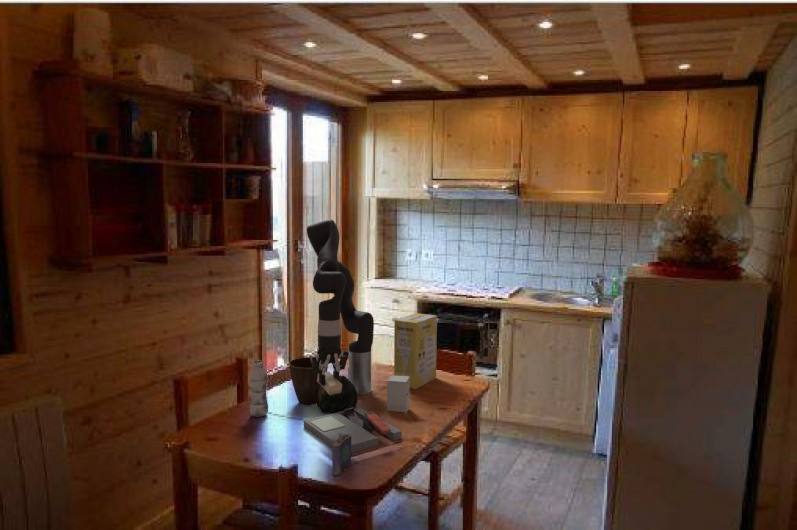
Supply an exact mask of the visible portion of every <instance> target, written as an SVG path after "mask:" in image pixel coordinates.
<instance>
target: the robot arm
mask: <svg viewBox="0 0 797 530" xmlns="http://www.w3.org/2000/svg"><path fill="white" fill-rule="evenodd" d="M306 235H307V238H308V241H309V243H310V245H311V247H312V249H313V251H314V253H315V255H316V257H317V258H316V265H317V267H316V268H317V269H316V271H315V273H314V276H313V279H312V287H313V290H314V291H315V292H316V293H317V294H321V295H323V294H326V295H327V294H333V296H332V298H330V299H325V300H321V301H320V302H319V303H318V322H317V349H318V350H317V352H316V354H314V355H312V354H311V355H309V356H308V357H309V358H310V362H311V365H312V368H313V371H314V372H315V373H317V374H319V383H320V384H321V385H322V386H325V371H326V368H327V367H328V368H329V364H331V365H332V369H333V372H332V375H333V376H334V377H335V378H336V379H337V380H338V381H339V376H340V372H341V371H342V370H345V368H346V365H347V362H348V368H347V379H348V380H349V381H350V382H352V384H353V385H354V386H355V388H356V391H357V396H360V395H361V396H363V395H368V394H370V393H372V346H373V343H374V328H375V321H374V320H375V319H374V317H373V315H372V313H370V312H367V311H363V310H362V311H361V310H357V309H356V307H355V304H354V303H353V295H354V290H355V282H354V279H353V276H352V274H351V271H350V269H349V267H348V266H346V265H345V264H343V262H340V261H339V260H338V253H339V246H340V231H339V229H338V225H337V224H336V222H335V220H333V219H330V218H329V219H324V220H321V221H318V222H315V223H313V224H310V225H308V226H307V227H306ZM341 319H342V322H343V325H344V328H345V330H347V332H349V333H352V334H356V335H357V340H354V341H351V342H350V343H349V344H348V351H346V350H342V348H341V346H342V324H341ZM318 358H320V363H319V366H320V367H319V366H318V363H317V361H318ZM339 358H340V359H339Z"/></svg>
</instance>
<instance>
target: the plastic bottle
mask: <svg viewBox="0 0 797 530" xmlns="http://www.w3.org/2000/svg"><path fill="white" fill-rule="evenodd" d="M264 367H265V366H264V360H261V359H260V360H253V362H252V370H251V371H250V373H249V375H248V376H249V377H248V380H249V385H250V391H251V392H250V405H249V412H250V415H251V416H252V417H254V416H255V418H260V417H265V416H266V415H267V414H268V413H269V403H268V397H267V383H268V373H267V371H266V370H265V369H264Z"/></svg>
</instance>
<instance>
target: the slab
mask: <svg viewBox="0 0 797 530" xmlns="http://www.w3.org/2000/svg"><path fill="white" fill-rule="evenodd" d="M317 382H318V383H319V374H318V377H317ZM319 384H320V383H319ZM320 385H321V384H320ZM321 386H322V385H321ZM322 387H323V388H324V389H325V390H326V392H327V393H328V394H329V395H332V394H337V393H341V390H342V384H341V383H340V382H339V381H338V380H337V379H336V378H335V377H334V376H333V373H331V372H330V371H327V372H325V386H322Z"/></svg>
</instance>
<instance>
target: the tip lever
mask: <svg viewBox="0 0 797 530" xmlns="http://www.w3.org/2000/svg"><path fill="white" fill-rule="evenodd" d="M344 415H345V416H346V418H347V419H349V420H351V421H352V422H354V423H355V424H357V425H359V426H360V427H362V428H364V429H365V430H367V431H368V432H373V429H374V426H375V427H376V428H377V429H378V430H379V431H380V432H381V435H384V433H387V432H390V431H391V429H390V428H389V427H388V426H387V425H386V424H385V423H384V422H383V421H384V420H383V419H382V418H380V416H379V415H377V414H376V412H374V410H372V411H367V413H365V415H364V421H362V419H361V418H360V417H359V416H358V415H357V414H356V413H355V412H354V407H352V408H348V409H345V411H344ZM382 420H383V421H382ZM373 425H374V426H373ZM379 431H378V432H379ZM380 432H379V433H380Z"/></svg>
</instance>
